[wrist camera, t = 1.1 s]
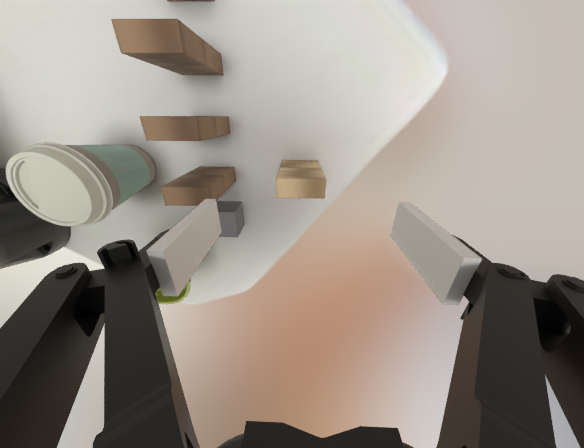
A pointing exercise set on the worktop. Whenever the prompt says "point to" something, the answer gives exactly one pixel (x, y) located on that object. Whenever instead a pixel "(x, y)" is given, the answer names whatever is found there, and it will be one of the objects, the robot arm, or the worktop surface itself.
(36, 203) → the coffee cup
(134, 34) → the tile
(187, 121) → the tile
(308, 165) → the tile
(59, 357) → the robot arm
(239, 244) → the worktop surface
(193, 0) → the tile
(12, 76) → the worktop surface
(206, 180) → the tile
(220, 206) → the block
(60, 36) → the worktop surface
